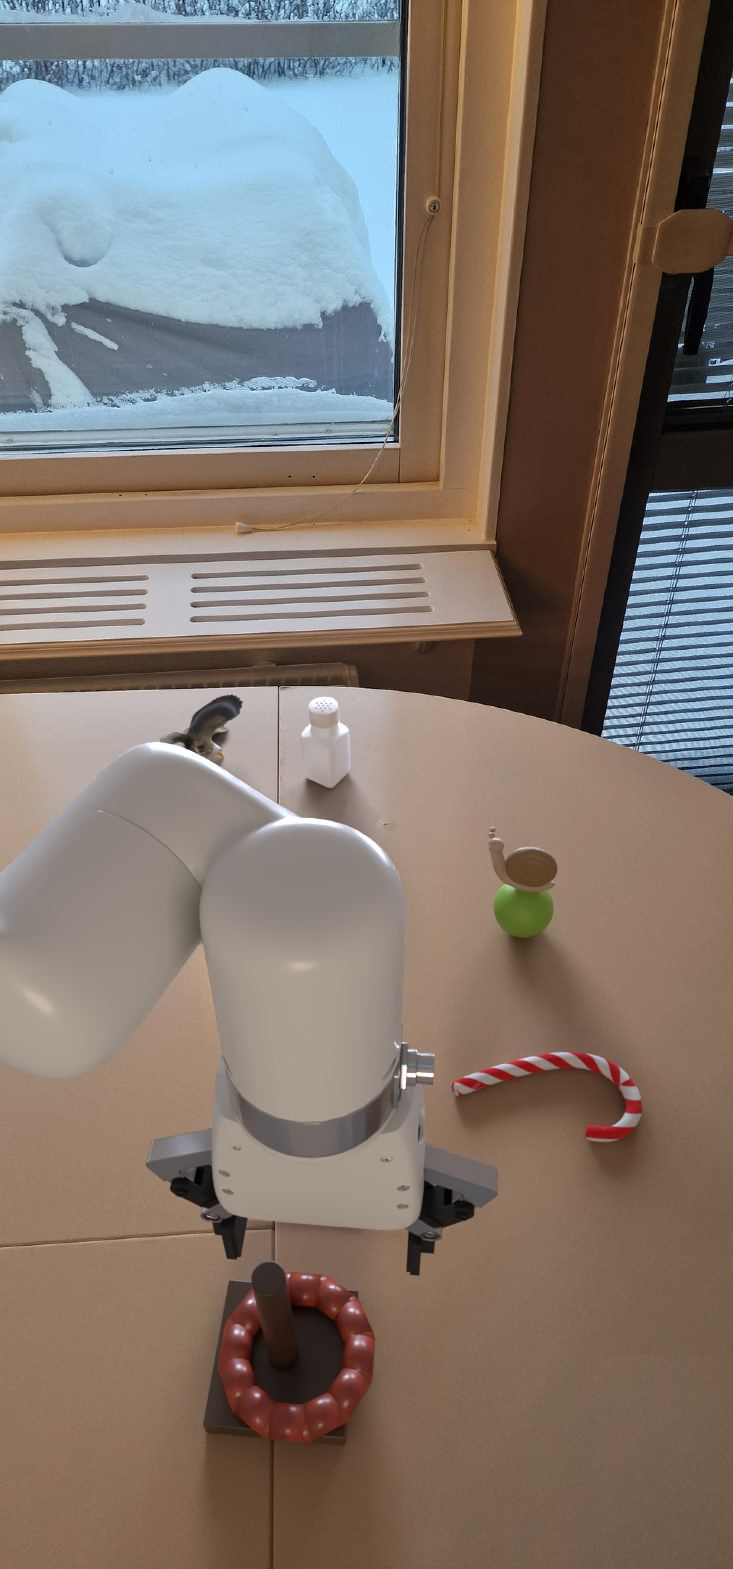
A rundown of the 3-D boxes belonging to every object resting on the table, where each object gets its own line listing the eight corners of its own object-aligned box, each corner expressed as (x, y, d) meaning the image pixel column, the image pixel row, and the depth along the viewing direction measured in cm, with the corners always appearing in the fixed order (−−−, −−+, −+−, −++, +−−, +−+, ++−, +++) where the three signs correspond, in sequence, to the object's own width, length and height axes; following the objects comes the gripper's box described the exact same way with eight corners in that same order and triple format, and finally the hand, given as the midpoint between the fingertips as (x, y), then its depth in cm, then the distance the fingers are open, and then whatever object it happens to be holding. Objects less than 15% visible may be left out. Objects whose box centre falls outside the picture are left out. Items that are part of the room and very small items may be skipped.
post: (205, 1432, 66) (174, 1354, 57) (231, 1287, 73) (207, 1196, 64) (345, 1445, 65) (336, 1368, 56) (358, 1298, 72) (353, 1208, 63)
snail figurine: (484, 899, 99) (492, 808, 91) (552, 908, 98) (566, 817, 90) (477, 943, 95) (485, 852, 87) (548, 953, 94) (562, 862, 86)
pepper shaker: (302, 778, 113) (296, 709, 106) (323, 758, 115) (319, 689, 109) (331, 791, 111) (327, 722, 104) (353, 771, 113) (350, 702, 107)
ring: (207, 1437, 65) (203, 1427, 63) (236, 1274, 72) (233, 1262, 71) (367, 1453, 64) (366, 1442, 62) (380, 1286, 71) (379, 1274, 70)
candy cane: (450, 1048, 85) (633, 1049, 85) (449, 1057, 86) (630, 1058, 86) (454, 1135, 80) (650, 1136, 79) (453, 1143, 80) (647, 1145, 80)
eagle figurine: (235, 775, 111) (259, 713, 117) (190, 734, 107) (217, 672, 113) (187, 789, 116) (213, 729, 121) (142, 750, 112) (171, 690, 117)
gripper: (513, 1008, 47) (485, 1186, 58) (139, 981, 48) (184, 1162, 60) (516, 1164, 41) (485, 1327, 53) (93, 1130, 43) (153, 1297, 54)
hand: (326, 1239), depth 56 cm, fingers open, 9 cm apart
